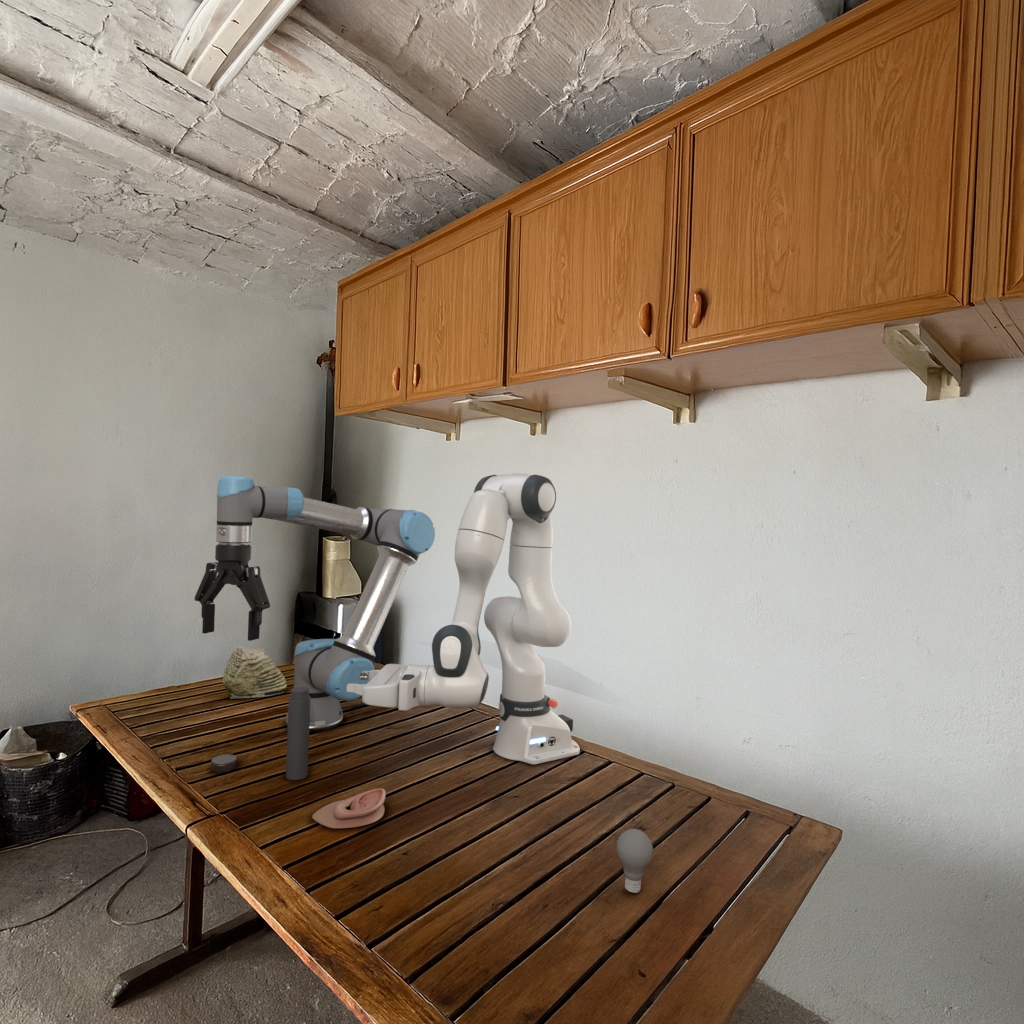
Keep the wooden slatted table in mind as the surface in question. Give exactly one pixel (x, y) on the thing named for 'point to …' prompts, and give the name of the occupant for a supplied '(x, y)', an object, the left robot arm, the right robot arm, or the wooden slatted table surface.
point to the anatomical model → (353, 810)
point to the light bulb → (634, 857)
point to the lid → (223, 763)
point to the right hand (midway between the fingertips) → (354, 680)
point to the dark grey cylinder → (298, 733)
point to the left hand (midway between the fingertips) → (230, 636)
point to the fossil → (252, 674)
